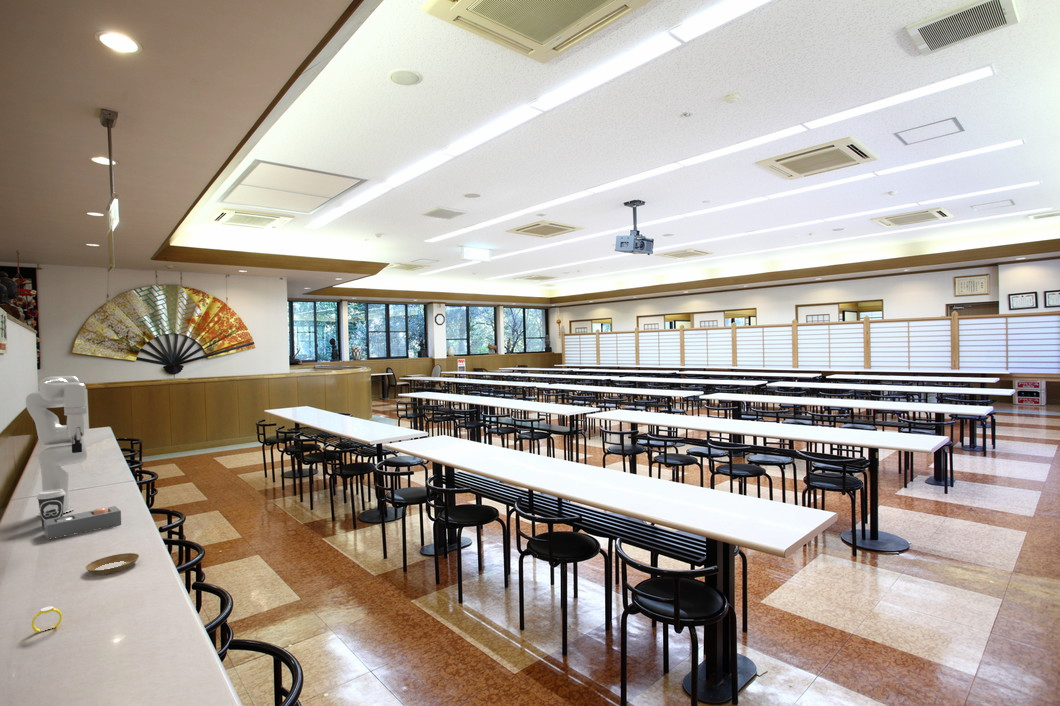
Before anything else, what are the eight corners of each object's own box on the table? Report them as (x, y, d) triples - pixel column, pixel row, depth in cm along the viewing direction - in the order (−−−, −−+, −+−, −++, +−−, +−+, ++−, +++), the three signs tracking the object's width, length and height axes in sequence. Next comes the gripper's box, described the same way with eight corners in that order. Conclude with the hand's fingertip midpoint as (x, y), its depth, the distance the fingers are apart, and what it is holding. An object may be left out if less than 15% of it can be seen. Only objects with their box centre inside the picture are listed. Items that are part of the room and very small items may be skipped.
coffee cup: (72, 521, 237) (71, 488, 237) (51, 528, 227) (49, 494, 227) (53, 521, 238) (52, 488, 238) (31, 528, 228) (30, 494, 228)
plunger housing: (44, 534, 221) (43, 520, 221) (115, 519, 239) (115, 506, 239) (47, 540, 213) (47, 525, 213) (121, 524, 231) (120, 510, 231)
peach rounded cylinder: (92, 522, 230) (92, 509, 230) (107, 519, 234) (106, 506, 234) (95, 524, 227) (94, 511, 227) (109, 521, 231) (109, 509, 231)
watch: (61, 625, 146) (62, 603, 146) (61, 629, 143) (62, 607, 144) (31, 631, 142) (33, 609, 142) (30, 635, 140) (32, 613, 140)
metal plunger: (56, 532, 221) (55, 519, 221) (71, 529, 225) (71, 516, 225) (58, 534, 218) (57, 521, 218) (73, 531, 222) (73, 518, 222)
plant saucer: (76, 580, 175) (75, 572, 174) (99, 563, 189) (99, 555, 189) (127, 574, 178) (127, 566, 178) (146, 557, 193) (146, 550, 193)
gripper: (61, 411, 234) (63, 451, 234) (67, 413, 224) (68, 455, 224) (83, 409, 240) (84, 449, 240) (89, 411, 230) (91, 452, 230)
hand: (77, 452), depth 232 cm, fingers closed
